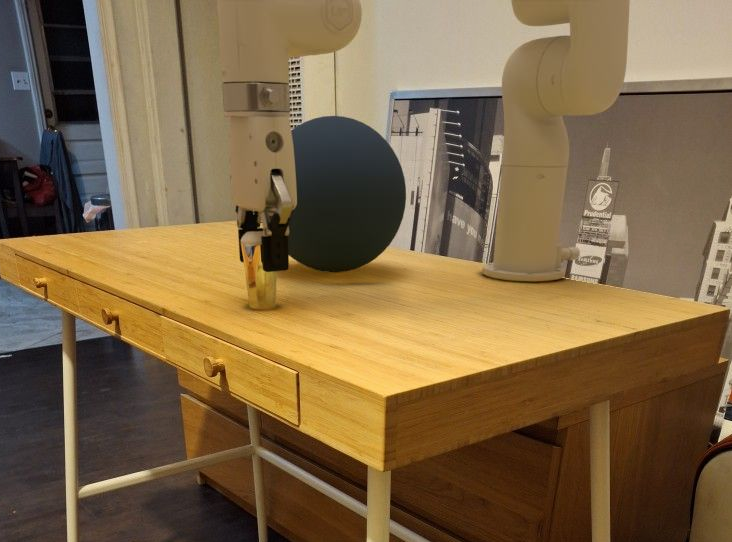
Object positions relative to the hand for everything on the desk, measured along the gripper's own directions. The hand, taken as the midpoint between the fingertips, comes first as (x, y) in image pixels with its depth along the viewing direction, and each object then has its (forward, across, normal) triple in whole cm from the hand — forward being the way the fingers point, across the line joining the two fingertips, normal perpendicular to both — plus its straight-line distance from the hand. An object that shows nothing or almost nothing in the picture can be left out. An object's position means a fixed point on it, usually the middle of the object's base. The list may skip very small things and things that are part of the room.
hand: (263, 265), depth 93 cm
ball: (+5, +20, -20) cm, 29 cm away
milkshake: (+5, 0, 0) cm, 5 cm away
